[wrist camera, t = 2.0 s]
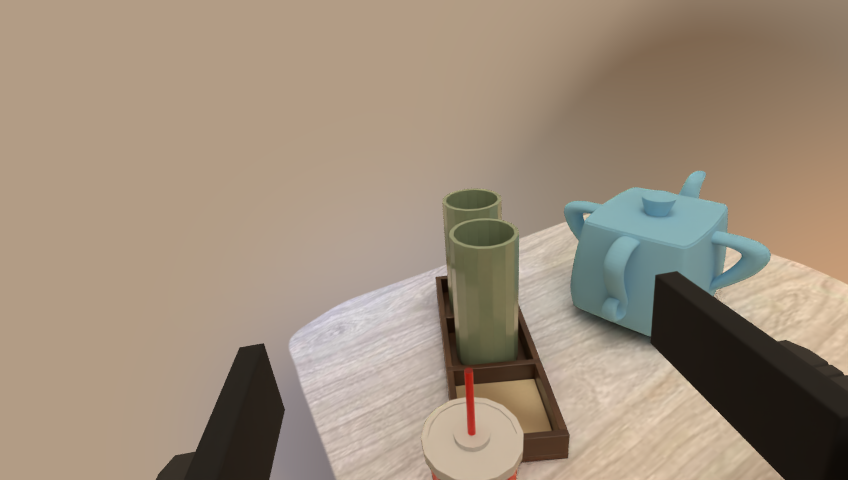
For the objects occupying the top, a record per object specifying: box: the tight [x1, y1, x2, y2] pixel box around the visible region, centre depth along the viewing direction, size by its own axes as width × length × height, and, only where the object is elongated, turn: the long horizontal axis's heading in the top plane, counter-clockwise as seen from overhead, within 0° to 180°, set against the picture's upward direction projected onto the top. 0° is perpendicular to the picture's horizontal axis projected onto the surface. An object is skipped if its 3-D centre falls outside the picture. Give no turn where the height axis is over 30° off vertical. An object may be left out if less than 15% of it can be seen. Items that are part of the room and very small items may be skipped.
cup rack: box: [436, 276, 569, 462], centre depth 46 cm, size 25×9×2 cm, turn 2°
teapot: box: [564, 171, 771, 337], centre depth 50 cm, size 18×16×14 cm
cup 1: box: [442, 189, 502, 314], centre depth 51 cm, size 6×6×14 cm
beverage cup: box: [421, 368, 523, 480], centre depth 29 cm, size 6×6×14 cm
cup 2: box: [449, 218, 519, 365], centre depth 44 cm, size 6×6×14 cm
